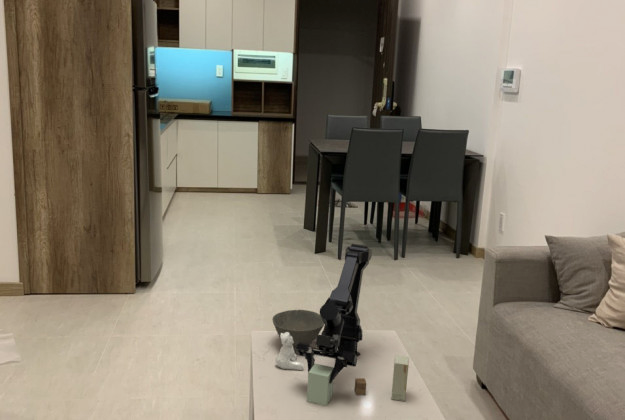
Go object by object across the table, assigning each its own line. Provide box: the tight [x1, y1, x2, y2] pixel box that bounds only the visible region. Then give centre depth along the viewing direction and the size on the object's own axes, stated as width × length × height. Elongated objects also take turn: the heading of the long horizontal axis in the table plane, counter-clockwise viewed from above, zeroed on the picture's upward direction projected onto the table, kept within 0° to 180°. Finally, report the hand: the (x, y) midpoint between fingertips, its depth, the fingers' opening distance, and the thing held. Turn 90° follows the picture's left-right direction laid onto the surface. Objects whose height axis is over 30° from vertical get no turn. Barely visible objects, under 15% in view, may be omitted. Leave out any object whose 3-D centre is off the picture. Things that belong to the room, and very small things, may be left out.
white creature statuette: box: [275, 332, 305, 371], centre depth 207 cm, size 10×9×12 cm
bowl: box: [272, 309, 325, 349], centre depth 223 cm, size 19×19×10 cm
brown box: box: [354, 377, 367, 396], centre depth 194 cm, size 3×3×4 cm
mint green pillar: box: [306, 363, 334, 407], centre depth 188 cm, size 6×6×10 cm
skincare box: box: [390, 354, 410, 402], centre depth 192 cm, size 6×4×12 cm
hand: (319, 381), depth 186 cm, fingers closed on mint green pillar, 6 cm apart
